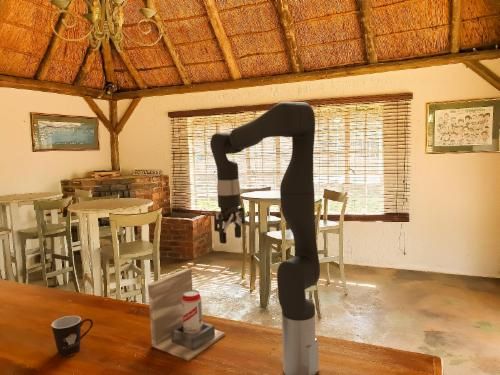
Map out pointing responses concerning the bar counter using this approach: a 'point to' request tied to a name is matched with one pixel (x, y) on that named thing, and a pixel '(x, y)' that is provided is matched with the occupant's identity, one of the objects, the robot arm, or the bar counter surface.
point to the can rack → (176, 318)
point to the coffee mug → (68, 334)
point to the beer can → (192, 312)
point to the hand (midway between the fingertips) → (230, 240)
